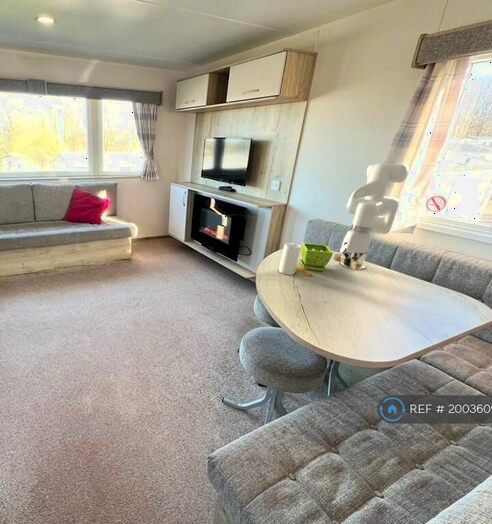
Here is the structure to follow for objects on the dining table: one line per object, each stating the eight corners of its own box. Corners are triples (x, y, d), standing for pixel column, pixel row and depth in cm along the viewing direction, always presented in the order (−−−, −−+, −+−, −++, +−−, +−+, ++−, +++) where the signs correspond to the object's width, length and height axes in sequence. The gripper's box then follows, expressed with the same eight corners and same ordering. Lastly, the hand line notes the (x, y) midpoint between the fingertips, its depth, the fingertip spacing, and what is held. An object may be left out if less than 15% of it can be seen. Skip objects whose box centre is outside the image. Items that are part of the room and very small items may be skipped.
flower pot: (296, 261, 192) (301, 242, 187) (321, 264, 189) (327, 245, 184) (301, 270, 179) (306, 249, 175) (327, 273, 176) (333, 252, 171)
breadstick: (292, 269, 179) (293, 266, 179) (295, 269, 180) (295, 266, 180) (309, 276, 171) (310, 273, 171) (311, 275, 172) (312, 272, 172)
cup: (296, 275, 172) (302, 248, 166) (280, 273, 173) (286, 246, 167) (292, 269, 179) (298, 243, 173) (277, 268, 181) (283, 242, 175)
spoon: (361, 270, 146) (364, 263, 145) (351, 270, 146) (354, 263, 145) (340, 258, 161) (342, 251, 159) (331, 258, 160) (333, 251, 159)
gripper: (371, 227, 148) (359, 262, 155) (338, 226, 147) (328, 262, 154) (383, 231, 141) (370, 268, 148) (349, 231, 140) (338, 268, 147)
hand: (349, 265), depth 151 cm, fingers closed on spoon, 2 cm apart
